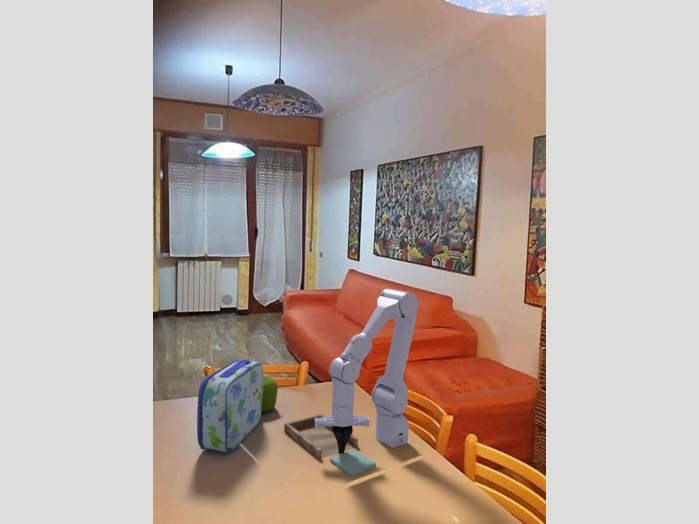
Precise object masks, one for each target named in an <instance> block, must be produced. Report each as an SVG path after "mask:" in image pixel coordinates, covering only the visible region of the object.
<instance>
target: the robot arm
mask: <svg viewBox="0 0 699 524" xmlns="http://www.w3.org/2000/svg"><path fill="white" fill-rule="evenodd" d="M376 300H377V301H376V303H377V305H376V307H375V308H374V311H373V313H372V314H371V316H370V318H369V320H368V321H367V323H366V325H365V327H364V328H363V330H362V331H361V333H359V334H358V333H357V334H355V335H354V336H353V337H351V339H350V340H349V341H350V342H349V343H348V345H347V346H346V347H345V349H344V351H342V353H341V354H340V356H338V357H337V358H336V357H335V359H333V360H332V362H330V363H331V364H330V367H329V368H328V370H327V371H328V373H329V374H328V375H330V377H331V383H332V394H331V395H332V397H331V398H332V399H331V400H332V402H331V415H328V416H325V417H322V418H315V428H319V427H332V430H333V433H334V435H335V438H336V440H337V444H338V455H340V454H342V453H345V451H346V450H345V447H346V444H347V442H348V440H349V438H350V436H351V434H352V435H353V431H354V429H353V427H357V426H358V427H359V426H360V427H361V426H362V427H363V426H364V427H366V428H367V427H368V428H369V427H370V422H371V421H370V417H369V416H360V415H354V402H355V400H354V398H355V397H354V396H355V381H357V379H359V376H360V374H361V368H362V364H363V362H364V360H365V359H366V357H367V356H368V355H369V353H370V351H371V350H372V348H373V343H372V341H373V339H374V338H375V337H376V336H377V334H378V333H379V332H380V330H381V329H383V327H384V326H385V325H386V323H387V322H388V320H390V319H393V320H394V321H395V326H394V331H393V334H392V338H391V339H392V340H391V344H390V347H389V348H390V349H389V352H388V358H387V361H386V367H385V370H384V375H382V376H381V377H379V378H378V379H377V380H376V383H375V385H374V388H373V389H372V391H371V395H370V396H371V401H372V403H373V404H374V408H375V409H376V413H375V414H376V415H375V431H374V432H375V433H374V434H375V436H374V438H375V440H376V441H378V442H380V443H383V444H385V445H386V446H388V447H389V448H391V449H394V448H397V447H400V446H402V445H406V444H409V445H410V444H411V442H410V441H409V427H410V425H409V420H408V419H407V418H406V417H405V416H404V415H403V414H404V411H405V410H406V409H407V406H408V401H409V400H408V393H409V388H408V386H407V385H406V383H405V381H404V375H405V370H406V366H407V362H408V358H409V353H410V348H411V344H412V338H413V336H414V330H415V325H416V321H417V313H418V307H419V304H420V302H419V301H418V300H419V299H418V298H417V296H416V295H415V294H414V293H413V292H409V291H401V290H398V289H393V288H391V287H387V288H385V289H383V291H382V292H381V293H380V296H379V297H378V298H377V299H376ZM341 427H342V428H341Z"/></svg>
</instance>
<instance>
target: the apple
mask: <svg viewBox="0 0 699 524" xmlns="http://www.w3.org/2000/svg"><path fill="white" fill-rule="evenodd" d="M278 390H279V388H278V382H276V381H275V380H273V379H272V378H270V377H268V376H263V395H262V409H261V413H266V412H268V411H270V410H272V409H274V408H275V407H276V404H277V397H278Z"/></svg>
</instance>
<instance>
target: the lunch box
mask: <svg viewBox="0 0 699 524" xmlns="http://www.w3.org/2000/svg"><path fill="white" fill-rule="evenodd" d="M263 377H264V371H263V365H262V364H261V362H258V361H251V360H249V359H240V360H239V359H236V360H233V361H232V362H230V363H229V364H227V365H225V366H223V367H221V368H219V369H218V370H216V371H214V372H213V373H211V374H209V375H207V376H206V377H204V378H203V379H202V380H201V382H200V385H199V388H198V394H197V409H196V410H197V414H196V415H197V416H196V418H197V419H196V428H197V429H196V433H197V435H196V436H197V442H198V446H199V448H200V449H201V450H205V449H207V450H215V451H218V452H225V453H230V452H233V451H235V449H237V447H238V446H239V445H240V444H241V443H242V441H243V440H244V439H245V438H246V437H247V436H248V435H249V434H250V433H251V432H252V431H253V430H254V429H255V428H256V427H257V426H258V424H259V422H260V420H261V417H262V412H261V409H262V395H263Z"/></svg>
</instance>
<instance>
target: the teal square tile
mask: <svg viewBox="0 0 699 524" xmlns="http://www.w3.org/2000/svg"><path fill="white" fill-rule="evenodd" d="M329 462H330V463H332V464H333V465H335V466H336V467H338V468H339V469H340V470H342V471H343V472H344V473H346V474H348V475H349V476H350V477H355V476H357V475H359V474H362V473H364V472H366V471H369V470H371V469H374V468H376V467H377V463H376V462H375V461H374V460H372V459H370V458H368V457H367V456H365V455H364V454H362V453H361V452H359V451H357V450H356V449H355V448H352V449H351V450H348V451H346V452H345V451H344V453H342V454H336V455H334V456H332V457H330V458H329Z"/></svg>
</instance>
